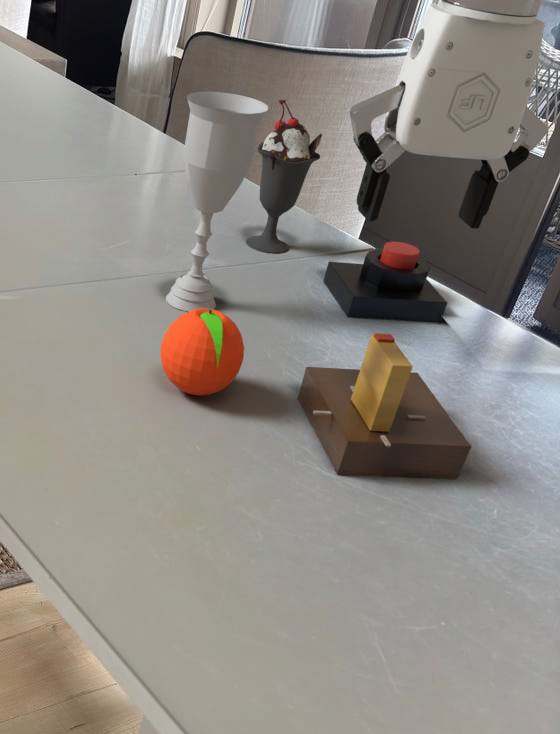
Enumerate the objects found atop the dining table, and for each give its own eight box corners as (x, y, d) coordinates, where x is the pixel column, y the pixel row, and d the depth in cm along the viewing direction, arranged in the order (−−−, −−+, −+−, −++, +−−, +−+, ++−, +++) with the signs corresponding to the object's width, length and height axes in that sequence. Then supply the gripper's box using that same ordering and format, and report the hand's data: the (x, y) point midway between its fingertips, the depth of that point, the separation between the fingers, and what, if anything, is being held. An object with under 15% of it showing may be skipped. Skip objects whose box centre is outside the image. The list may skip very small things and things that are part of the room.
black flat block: (410, 287, 106) (422, 250, 104) (440, 323, 100) (454, 285, 97) (322, 281, 105) (333, 244, 102) (347, 317, 98) (359, 278, 96)
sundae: (225, 240, 111) (255, 94, 101) (262, 231, 115) (294, 89, 105) (270, 261, 108) (305, 112, 98) (307, 250, 112) (344, 106, 102)
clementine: (247, 418, 81) (267, 337, 76) (166, 416, 79) (181, 334, 75) (222, 372, 86) (239, 294, 82) (147, 370, 85) (159, 290, 80)
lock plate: (406, 403, 86) (418, 370, 83) (460, 483, 76) (475, 448, 74) (279, 397, 84) (288, 363, 82) (319, 478, 75) (330, 442, 73)
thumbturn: (389, 432, 75) (414, 363, 71) (369, 431, 75) (393, 362, 71) (369, 400, 79) (391, 332, 75) (350, 399, 78) (371, 331, 75)
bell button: (407, 259, 102) (412, 242, 101) (419, 273, 100) (425, 256, 99) (374, 257, 102) (380, 240, 101) (386, 270, 99) (391, 253, 98)
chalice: (216, 288, 100) (255, 94, 88) (235, 317, 95) (279, 116, 83) (147, 286, 99) (178, 89, 87) (163, 315, 94) (197, 110, 82)
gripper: (405, -11, 71) (338, 228, 82) (618, 13, 74) (525, 241, 85) (370, -29, 76) (312, 198, 88) (570, -6, 79) (488, 211, 91)
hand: (417, 219), depth 86 cm, fingers open, 9 cm apart
